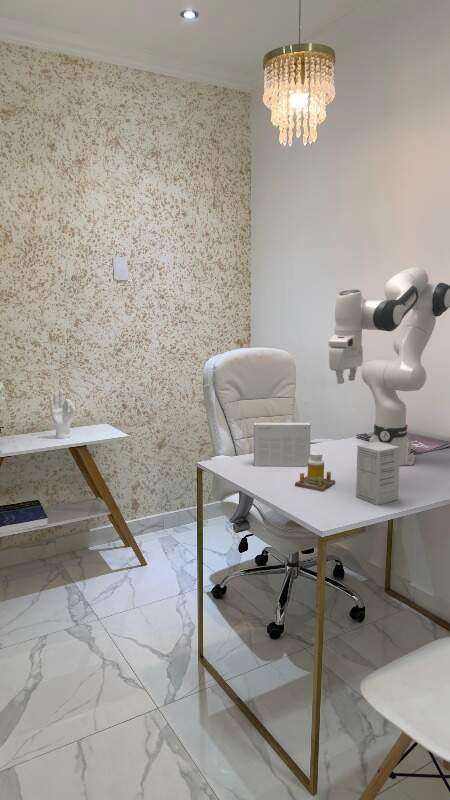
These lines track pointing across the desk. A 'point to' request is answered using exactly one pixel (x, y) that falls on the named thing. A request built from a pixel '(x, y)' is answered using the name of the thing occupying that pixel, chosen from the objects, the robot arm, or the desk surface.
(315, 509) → the desk surface
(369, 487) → the supplement box
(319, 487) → the pin stand
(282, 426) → the skincare box
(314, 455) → the supplement bottle
